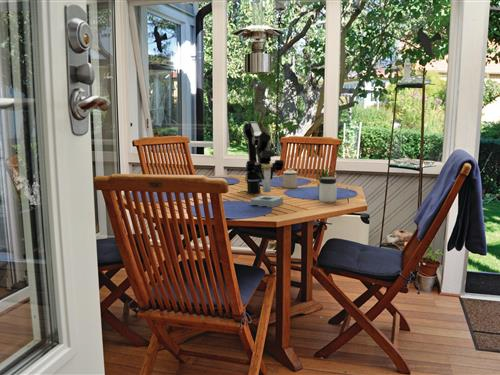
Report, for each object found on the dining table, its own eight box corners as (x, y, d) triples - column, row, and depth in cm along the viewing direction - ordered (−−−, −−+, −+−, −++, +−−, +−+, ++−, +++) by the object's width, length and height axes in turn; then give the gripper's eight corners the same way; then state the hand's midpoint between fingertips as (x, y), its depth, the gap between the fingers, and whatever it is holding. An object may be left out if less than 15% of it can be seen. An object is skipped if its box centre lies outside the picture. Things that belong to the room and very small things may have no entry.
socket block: (250, 205, 237) (250, 199, 236) (261, 201, 247) (261, 195, 247) (272, 207, 231) (272, 201, 231) (282, 203, 241) (282, 197, 241)
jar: (317, 201, 244) (317, 178, 242) (320, 198, 252) (321, 176, 250) (334, 202, 241) (335, 179, 239) (337, 200, 249) (338, 177, 247)
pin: (259, 191, 239) (258, 163, 236) (267, 190, 242) (267, 162, 240) (265, 193, 234) (265, 164, 232) (274, 191, 238) (274, 164, 235)
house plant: (326, 199, 250) (327, 168, 248) (305, 196, 260) (305, 166, 257) (341, 195, 261) (341, 165, 258) (320, 192, 270) (320, 164, 267)
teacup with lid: (296, 185, 296) (296, 167, 294) (298, 188, 287) (298, 168, 285) (277, 186, 295) (277, 167, 293) (278, 188, 286) (278, 169, 284)
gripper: (246, 144, 236) (250, 169, 228) (283, 143, 240) (288, 168, 231) (243, 158, 245) (248, 183, 237) (279, 157, 249) (284, 182, 240)
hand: (267, 179), depth 236 cm, fingers closed on pin, 4 cm apart
